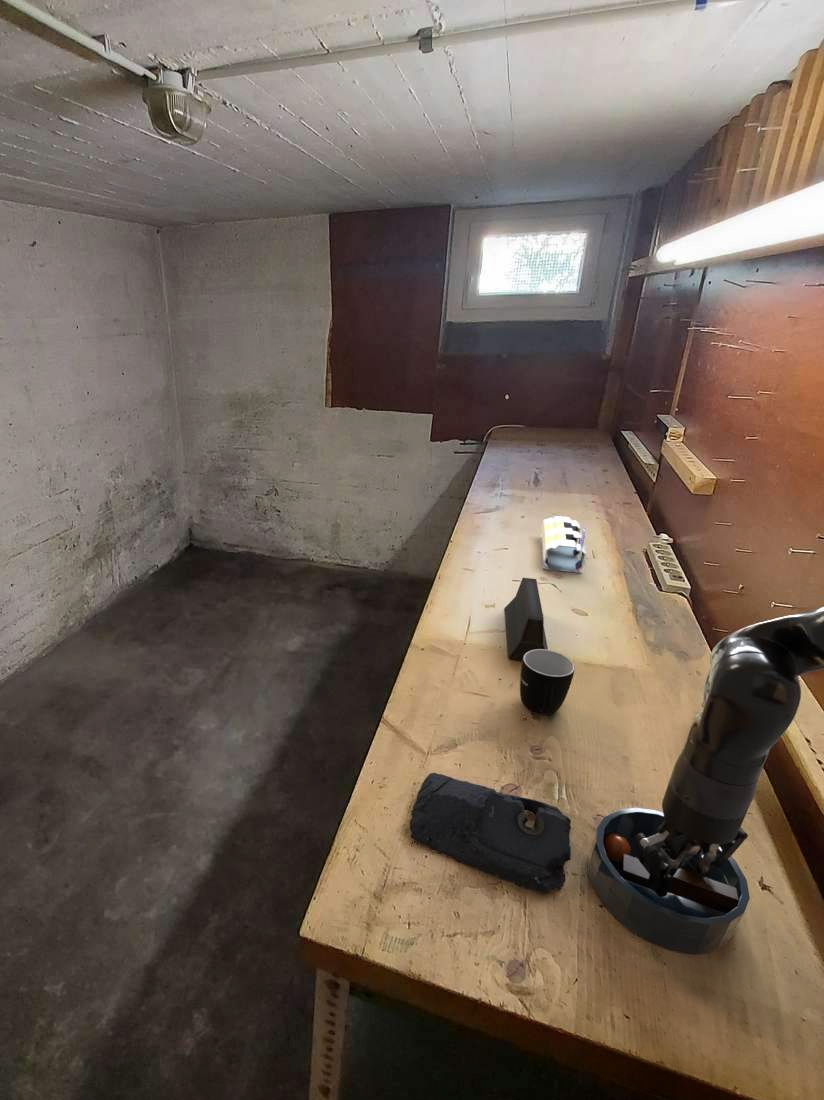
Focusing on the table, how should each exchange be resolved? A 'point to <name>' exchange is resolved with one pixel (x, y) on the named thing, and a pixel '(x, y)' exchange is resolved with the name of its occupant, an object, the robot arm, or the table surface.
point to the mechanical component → (706, 689)
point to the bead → (616, 847)
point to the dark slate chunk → (493, 832)
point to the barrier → (525, 621)
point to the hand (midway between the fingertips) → (671, 886)
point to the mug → (545, 680)
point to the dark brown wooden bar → (685, 886)
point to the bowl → (669, 915)
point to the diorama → (562, 544)
